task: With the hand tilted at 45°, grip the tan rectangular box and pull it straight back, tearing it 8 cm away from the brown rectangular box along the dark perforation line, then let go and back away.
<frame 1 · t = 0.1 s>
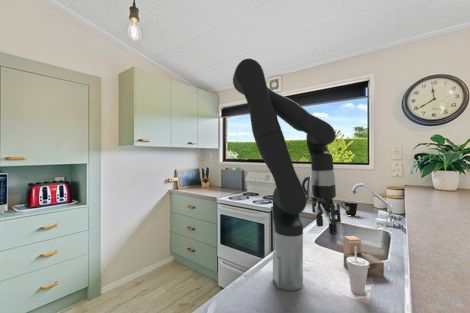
hand: (326, 230, 76), 17 cm above the counter, tool pointing down, fingers open, 8 cm apart
smoothie: (357, 292, 70), on the counter
coffee mug: (349, 215, 163), on the counter
brown rectangular box: (362, 271, 82), on the counter
tan rectangular box: (352, 250, 88), point 5 cm above the counter, slide at 0.0 cm
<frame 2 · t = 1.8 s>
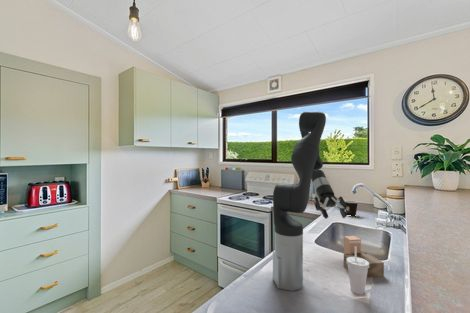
hand: (335, 217, 100), 15 cm above the counter, tool tilted 45°, fingers open, 8 cm apart
nothing on the counter moved.
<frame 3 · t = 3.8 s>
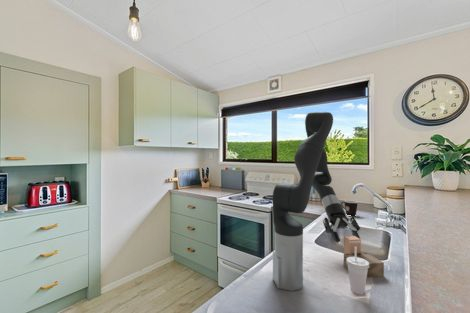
hand: (348, 241, 91), 8 cm above the counter, tool tilted 45°, fingers open, 8 cm apart
nothing on the counter moved.
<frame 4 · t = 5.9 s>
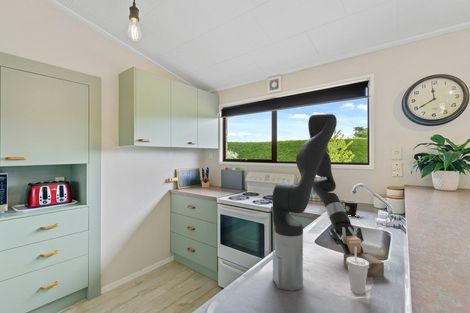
hand: (355, 253, 86), 5 cm above the counter, tool tilted 45°, fingers closed on tan rectangular box, 4 cm apart
tan rectangular box: (352, 250, 88), point 5 cm above the counter, slide at 0.0 cm, touching gripper
everything else where it was.
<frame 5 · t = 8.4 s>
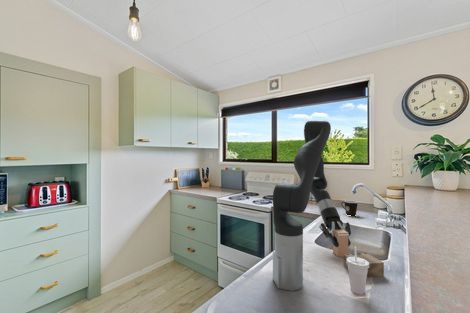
hand: (343, 245, 94), 5 cm above the counter, tool tilted 45°, fingers closed on tan rectangular box, 4 cm apart
tan rectangular box: (340, 242, 96), point 5 cm above the counter, slide at 7.9 cm, touching gripper
everything else where it was.
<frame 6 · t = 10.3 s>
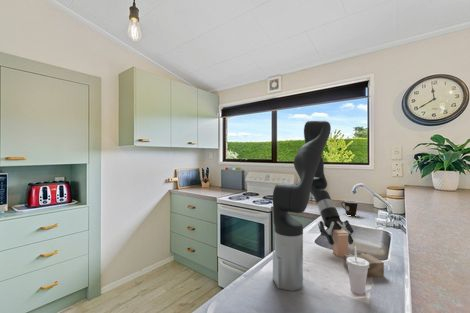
hand: (342, 244, 95), 5 cm above the counter, tool tilted 45°, fingers open, 8 cm apart
tan rectangular box: (340, 242, 96), point 5 cm above the counter, slide at 7.9 cm
everything else where it was.
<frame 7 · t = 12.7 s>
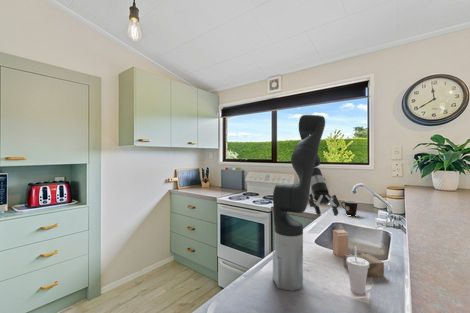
hand: (327, 214, 105), 15 cm above the counter, tool tilted 40°, fingers open, 8 cm apart
nothing on the counter moved.
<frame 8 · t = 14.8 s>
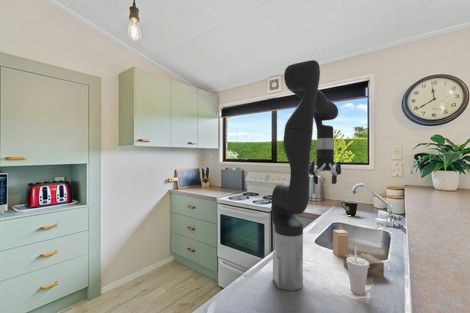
hand: (324, 184, 101), 30 cm above the counter, tool pointing down, fingers open, 8 cm apart
nothing on the counter moved.
at the end: tan rectangular box slide at 7.9 cm; the gripper is holding nothing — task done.
